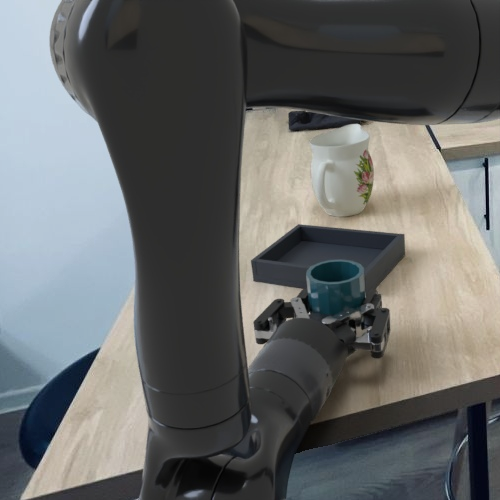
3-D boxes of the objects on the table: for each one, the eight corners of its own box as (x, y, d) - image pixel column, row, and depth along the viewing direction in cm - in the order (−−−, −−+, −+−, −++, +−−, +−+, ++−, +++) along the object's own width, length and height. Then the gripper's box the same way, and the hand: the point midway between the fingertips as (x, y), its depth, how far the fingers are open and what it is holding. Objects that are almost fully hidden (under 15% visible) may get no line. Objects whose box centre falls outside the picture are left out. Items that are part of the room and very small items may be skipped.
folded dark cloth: (364, 128, 174) (363, 110, 172) (284, 132, 181) (282, 115, 179) (371, 115, 188) (370, 98, 186) (296, 120, 195) (295, 104, 193)
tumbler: (377, 341, 76) (372, 263, 72) (355, 369, 71) (349, 287, 67) (328, 332, 79) (321, 256, 75) (305, 358, 74) (296, 279, 71)
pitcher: (293, 228, 113) (285, 150, 107) (333, 194, 127) (327, 124, 122) (354, 233, 107) (348, 151, 102) (388, 196, 122) (384, 123, 116)
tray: (405, 254, 97) (404, 234, 96) (366, 298, 86) (365, 275, 85) (300, 242, 106) (298, 224, 105) (253, 281, 95) (250, 260, 94)
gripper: (366, 349, 57) (405, 268, 70) (218, 332, 63) (281, 260, 76) (370, 420, 60) (408, 329, 73) (229, 397, 66) (288, 317, 79)
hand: (343, 294), depth 75 cm, fingers open, 6 cm apart
